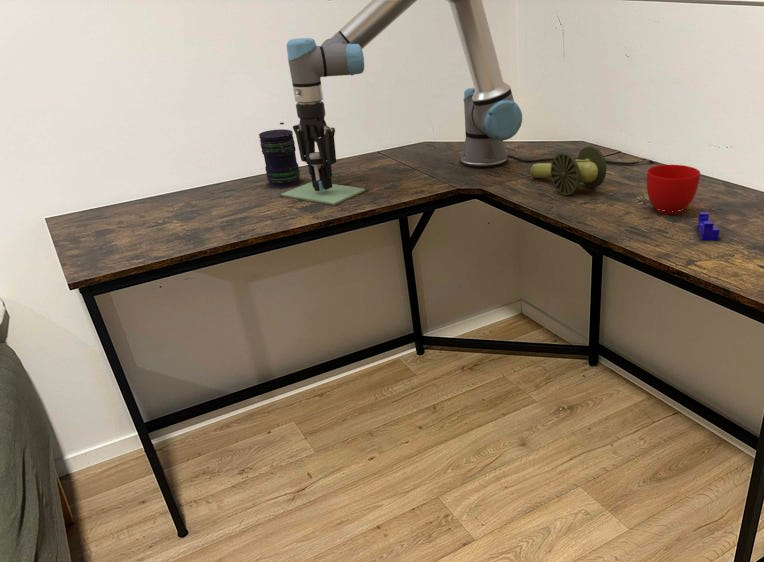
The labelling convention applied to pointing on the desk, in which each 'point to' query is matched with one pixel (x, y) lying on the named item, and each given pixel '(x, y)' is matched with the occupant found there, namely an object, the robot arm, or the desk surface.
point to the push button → (316, 170)
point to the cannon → (573, 170)
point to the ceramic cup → (672, 187)
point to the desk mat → (323, 193)
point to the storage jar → (280, 158)
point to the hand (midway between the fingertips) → (322, 187)
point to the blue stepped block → (707, 227)
